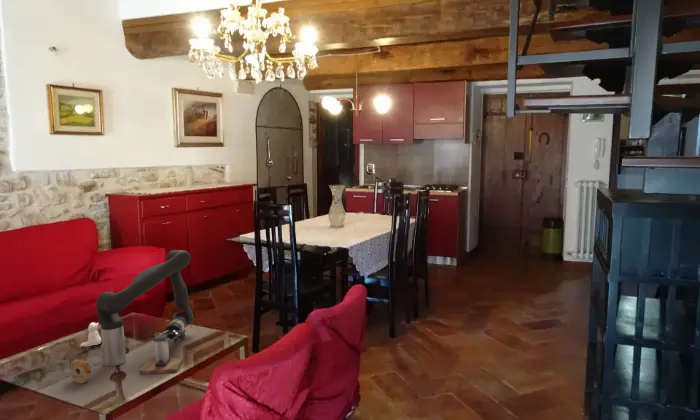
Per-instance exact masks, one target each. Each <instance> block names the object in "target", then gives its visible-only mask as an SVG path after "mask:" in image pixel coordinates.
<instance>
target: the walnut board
mask: <svg viewBox="0 0 700 420" xmlns="http://www.w3.org/2000/svg"><path fill="white" fill-rule="evenodd" d="M184 362H185V357H184V356H180V357H178V356H177V357H170V361H169V362H168V364H167V365H166V366H163V367H155V363H156V358H149V359H147V361H146V362H145V363H144V365H143V366H142V368H140V370H139V375H141V376H142V375H151V374H152V375H153V374H169V373H170V374H171V373H177V372H179V369H180V368H181V366H182V365H183V363H184Z"/></svg>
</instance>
